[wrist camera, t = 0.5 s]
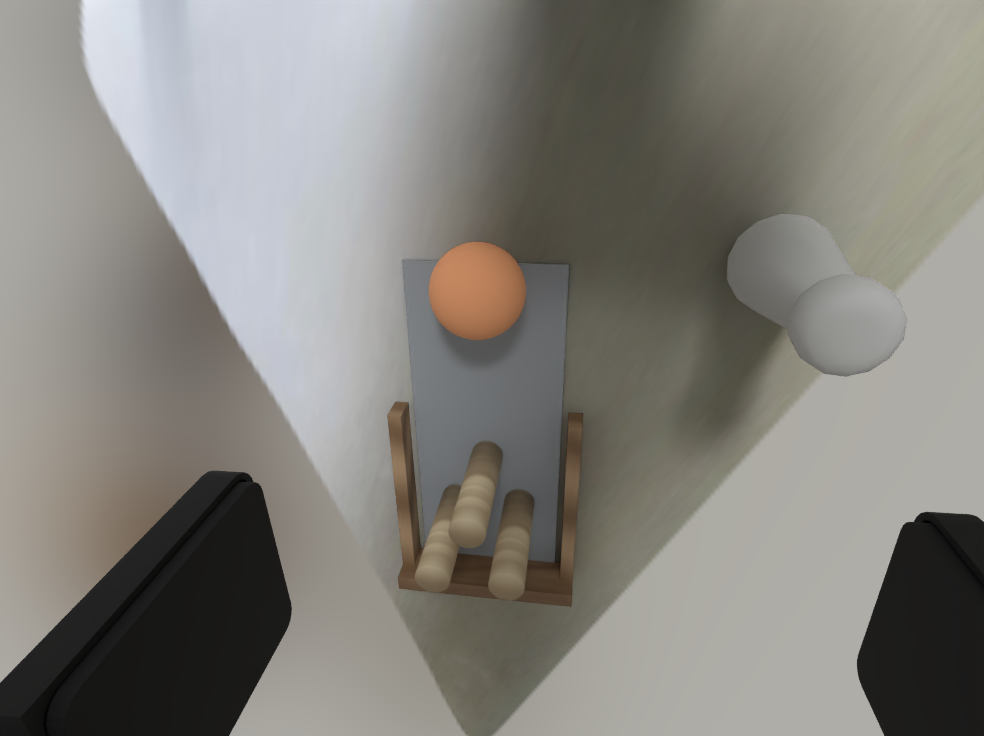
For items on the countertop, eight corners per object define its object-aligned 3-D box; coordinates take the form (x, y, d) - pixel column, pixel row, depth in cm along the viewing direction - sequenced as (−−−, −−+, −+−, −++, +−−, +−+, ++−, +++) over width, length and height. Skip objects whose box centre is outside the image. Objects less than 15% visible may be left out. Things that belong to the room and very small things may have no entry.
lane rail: (395, 401, 44) (381, 426, 41) (582, 413, 42) (582, 440, 39) (410, 557, 51) (399, 588, 48) (572, 573, 49) (571, 606, 46)
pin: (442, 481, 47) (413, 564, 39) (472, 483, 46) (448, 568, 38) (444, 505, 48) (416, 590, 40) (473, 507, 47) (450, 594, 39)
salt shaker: (815, 295, 36) (922, 397, 25) (717, 303, 37) (777, 404, 26) (825, 199, 34) (949, 262, 22) (720, 210, 35) (787, 276, 23)
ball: (438, 230, 38) (414, 255, 32) (530, 232, 37) (521, 258, 32) (442, 317, 40) (421, 353, 35) (529, 320, 40) (520, 358, 34)
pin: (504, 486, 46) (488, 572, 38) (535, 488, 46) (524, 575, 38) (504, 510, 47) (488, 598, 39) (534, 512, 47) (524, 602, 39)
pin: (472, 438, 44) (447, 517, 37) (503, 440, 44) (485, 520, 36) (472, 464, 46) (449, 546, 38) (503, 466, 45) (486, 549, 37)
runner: (403, 259, 39) (402, 260, 39) (569, 264, 37) (569, 265, 37) (426, 553, 50) (426, 555, 50) (554, 566, 49) (554, 568, 49)
